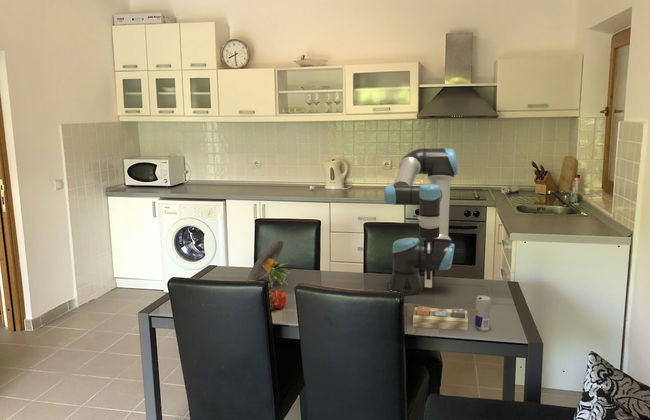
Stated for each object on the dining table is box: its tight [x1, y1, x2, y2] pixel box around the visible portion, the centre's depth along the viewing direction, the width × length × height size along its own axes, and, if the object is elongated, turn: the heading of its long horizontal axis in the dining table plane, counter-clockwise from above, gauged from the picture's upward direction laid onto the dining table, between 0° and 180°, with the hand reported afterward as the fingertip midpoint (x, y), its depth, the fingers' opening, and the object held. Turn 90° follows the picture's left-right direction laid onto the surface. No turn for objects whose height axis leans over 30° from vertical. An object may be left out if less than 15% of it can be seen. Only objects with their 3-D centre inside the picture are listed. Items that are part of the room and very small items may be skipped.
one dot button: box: [417, 305, 430, 316], centre depth 207 cm, size 4×4×3 cm
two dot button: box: [451, 307, 465, 318], centre depth 204 cm, size 4×4×3 cm
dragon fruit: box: [268, 289, 288, 310], centre depth 225 cm, size 8×8×12 cm
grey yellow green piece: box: [247, 240, 294, 288], centre depth 252 cm, size 25×18×25 cm
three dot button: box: [434, 311, 447, 317], centre depth 206 cm, size 4×4×3 cm
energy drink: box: [474, 294, 492, 332], centre depth 199 cm, size 5×5×12 cm
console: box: [412, 306, 469, 331], centre depth 206 cm, size 20×11×4 cm, turn 77°
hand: (428, 286), depth 205 cm, fingers closed
